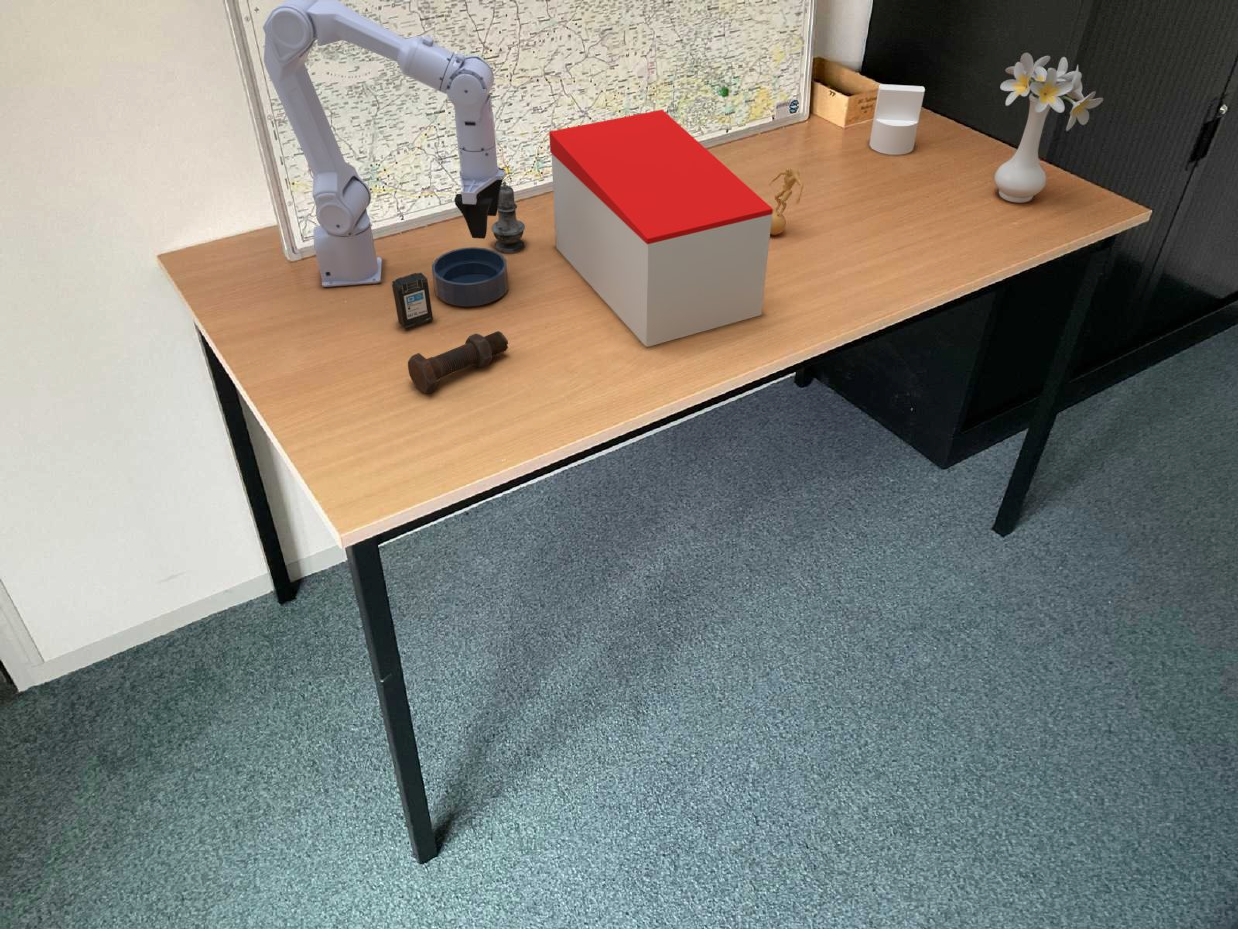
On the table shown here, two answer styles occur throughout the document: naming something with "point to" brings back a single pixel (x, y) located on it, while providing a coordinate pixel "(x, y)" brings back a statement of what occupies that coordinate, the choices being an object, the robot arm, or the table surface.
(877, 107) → the base with upright slab
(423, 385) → the bolt
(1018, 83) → the flower vase
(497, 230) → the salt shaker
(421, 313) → the ink cartridge
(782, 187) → the figurine
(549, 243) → the table surface
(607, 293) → the red-topped grey box
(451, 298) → the bowl
